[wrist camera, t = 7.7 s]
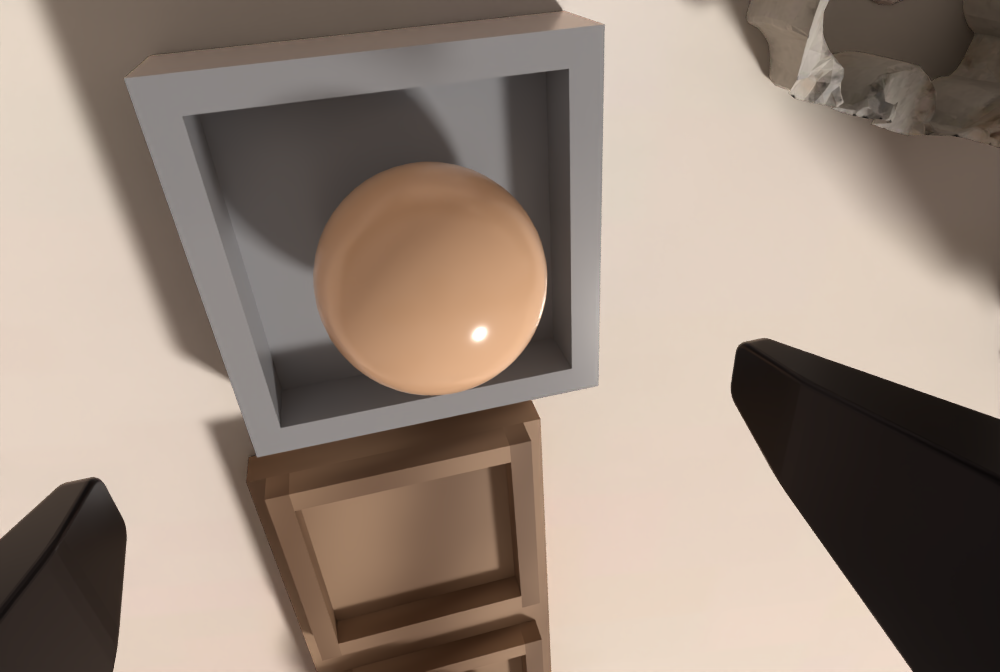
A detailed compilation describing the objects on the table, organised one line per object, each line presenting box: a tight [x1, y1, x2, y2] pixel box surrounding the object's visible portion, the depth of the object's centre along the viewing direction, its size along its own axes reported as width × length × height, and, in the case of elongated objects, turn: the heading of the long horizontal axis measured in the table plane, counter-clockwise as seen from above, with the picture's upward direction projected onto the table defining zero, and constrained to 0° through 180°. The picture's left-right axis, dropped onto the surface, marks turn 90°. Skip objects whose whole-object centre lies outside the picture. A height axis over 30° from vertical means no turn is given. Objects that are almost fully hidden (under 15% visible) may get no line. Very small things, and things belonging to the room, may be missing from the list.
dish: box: [124, 11, 605, 457], centre depth 15 cm, size 8×8×2 cm
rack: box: [246, 400, 551, 672], centre depth 23 cm, size 8×16×2 cm, turn 4°
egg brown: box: [313, 162, 547, 395], centre depth 13 cm, size 5×5×5 cm
